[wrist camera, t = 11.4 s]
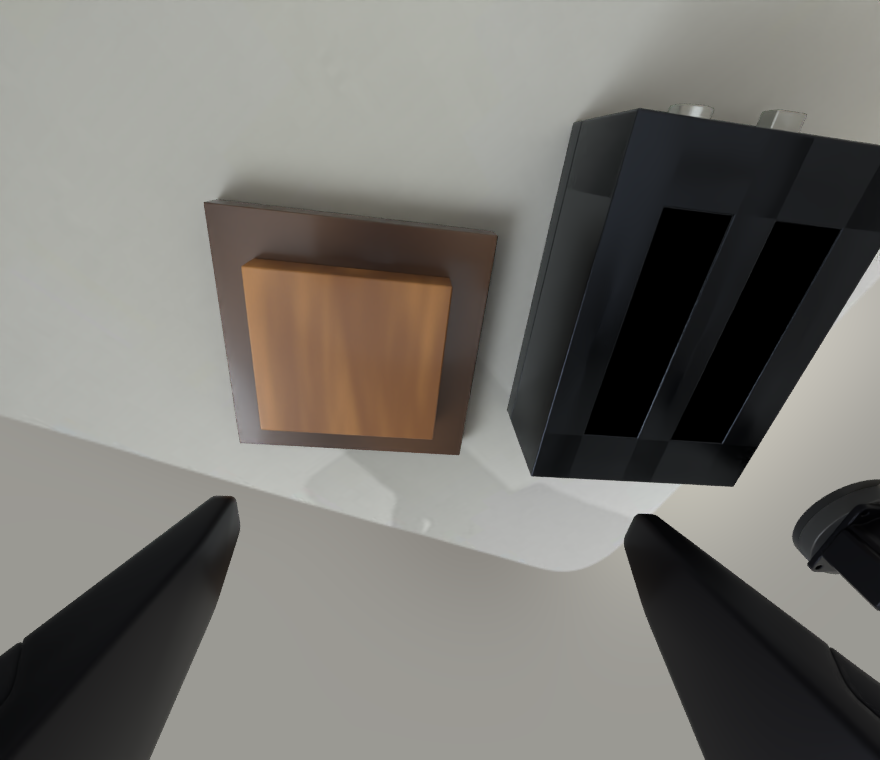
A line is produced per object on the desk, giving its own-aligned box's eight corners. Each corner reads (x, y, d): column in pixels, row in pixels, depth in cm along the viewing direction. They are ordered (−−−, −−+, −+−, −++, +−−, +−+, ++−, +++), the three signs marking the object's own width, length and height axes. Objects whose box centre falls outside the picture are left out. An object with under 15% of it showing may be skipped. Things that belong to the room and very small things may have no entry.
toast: (453, 286, 17) (240, 265, 16) (432, 440, 21) (260, 430, 20) (450, 277, 18) (252, 257, 17) (432, 424, 22) (269, 414, 21)
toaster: (807, 127, 17) (962, 115, 12) (670, 421, 24) (733, 487, 19) (580, 92, 16) (651, 64, 11) (506, 410, 23) (531, 476, 18)
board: (493, 230, 18) (498, 235, 17) (457, 442, 24) (459, 455, 23) (215, 199, 17) (202, 201, 16) (247, 430, 23) (239, 443, 22)
